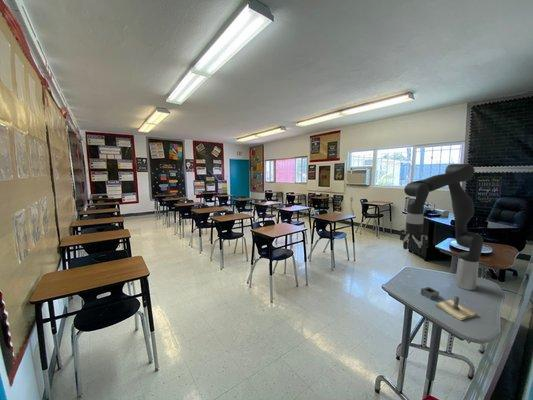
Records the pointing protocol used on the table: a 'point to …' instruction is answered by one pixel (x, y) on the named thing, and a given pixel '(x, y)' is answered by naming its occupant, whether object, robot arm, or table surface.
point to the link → (429, 293)
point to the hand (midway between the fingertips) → (412, 251)
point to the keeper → (456, 309)
